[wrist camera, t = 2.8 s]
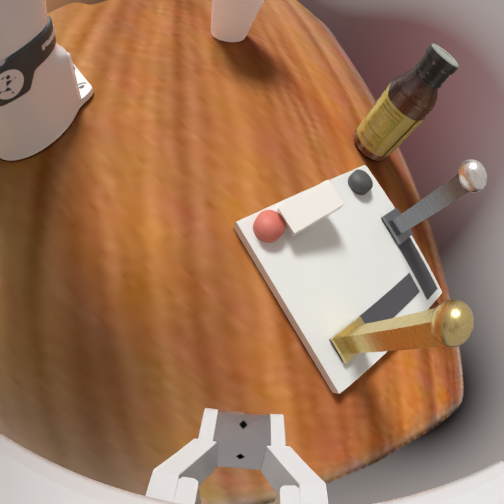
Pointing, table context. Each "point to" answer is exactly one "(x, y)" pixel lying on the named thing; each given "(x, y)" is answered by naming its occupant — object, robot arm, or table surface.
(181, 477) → the robot arm
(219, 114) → the table surface
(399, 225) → the graphite lever
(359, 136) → the sauce bottle
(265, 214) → the panel
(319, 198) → the block
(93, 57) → the table surface
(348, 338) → the brass lever
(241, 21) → the foam cup
